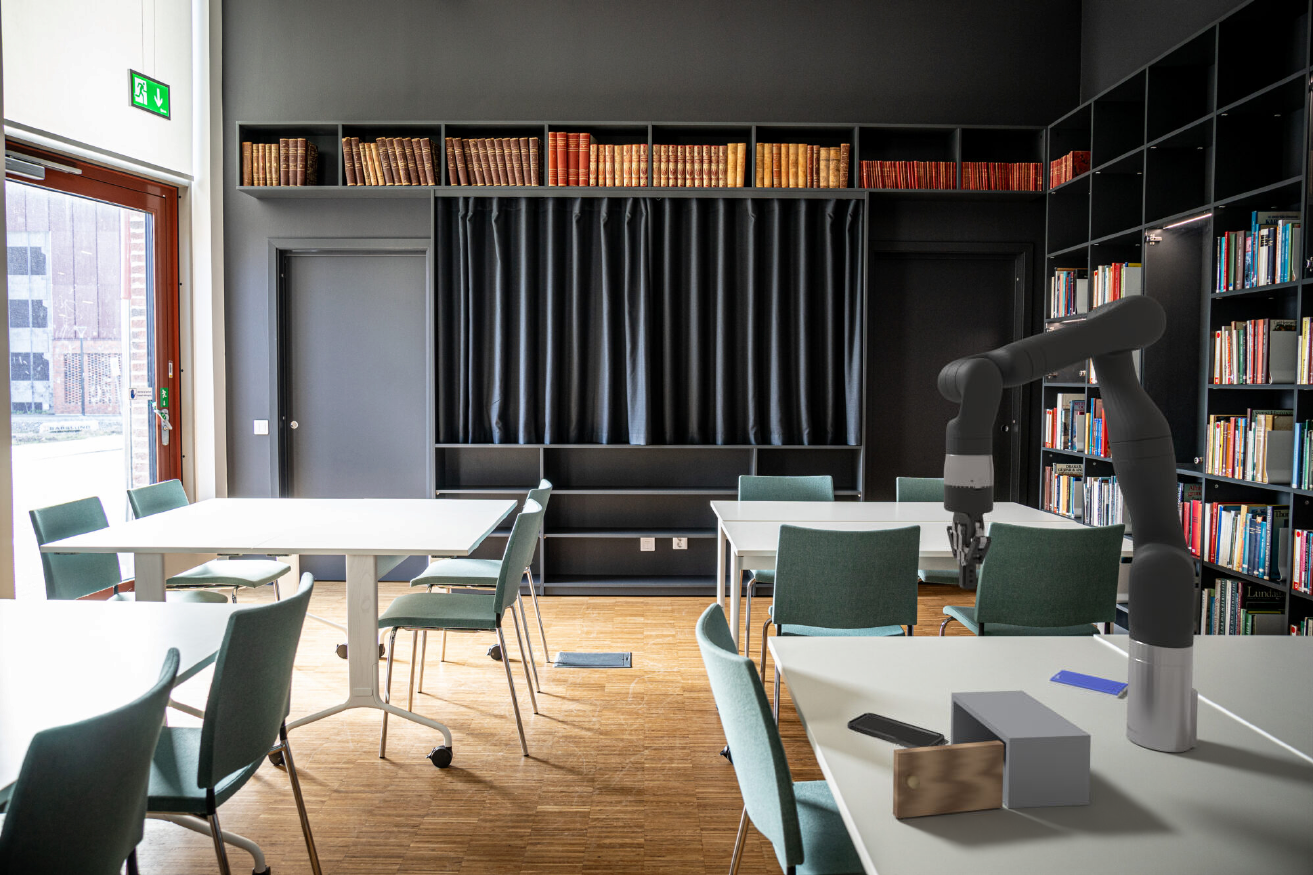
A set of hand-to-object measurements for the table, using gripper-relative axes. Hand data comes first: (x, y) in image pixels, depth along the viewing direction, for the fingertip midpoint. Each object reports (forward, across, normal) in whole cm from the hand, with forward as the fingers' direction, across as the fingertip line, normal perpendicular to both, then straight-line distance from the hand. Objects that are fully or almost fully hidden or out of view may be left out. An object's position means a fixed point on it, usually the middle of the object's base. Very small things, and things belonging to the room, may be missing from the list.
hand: (967, 587), depth 132 cm
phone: (+27, -7, -10) cm, 30 cm away
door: (+27, +21, -10) cm, 35 cm away
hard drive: (+28, -30, +37) cm, 55 cm away
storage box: (+27, +10, +4) cm, 29 cm away
